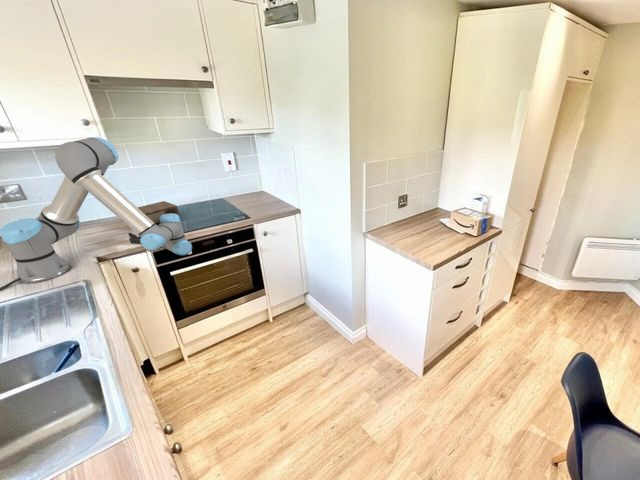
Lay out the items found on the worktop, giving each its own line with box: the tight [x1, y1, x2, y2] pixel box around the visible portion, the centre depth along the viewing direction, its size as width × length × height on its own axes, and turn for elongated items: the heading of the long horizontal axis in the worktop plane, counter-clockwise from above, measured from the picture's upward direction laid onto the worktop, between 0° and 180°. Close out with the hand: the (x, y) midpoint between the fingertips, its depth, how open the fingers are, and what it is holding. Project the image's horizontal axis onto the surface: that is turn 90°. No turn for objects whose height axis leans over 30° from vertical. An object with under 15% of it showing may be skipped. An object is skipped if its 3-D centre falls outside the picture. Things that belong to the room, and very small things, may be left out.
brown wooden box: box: [136, 200, 181, 224], centre depth 191 cm, size 20×14×9 cm
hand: (145, 230), depth 167 cm, fingers open, 13 cm apart
